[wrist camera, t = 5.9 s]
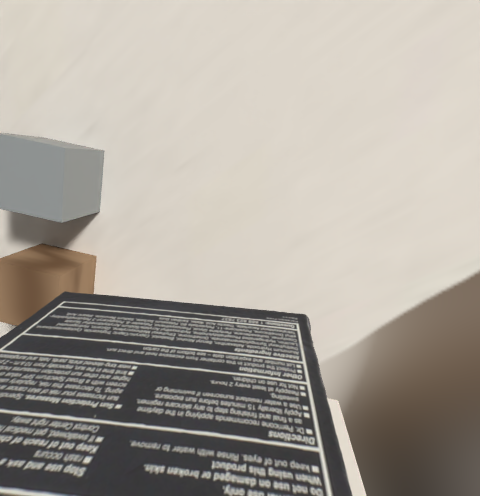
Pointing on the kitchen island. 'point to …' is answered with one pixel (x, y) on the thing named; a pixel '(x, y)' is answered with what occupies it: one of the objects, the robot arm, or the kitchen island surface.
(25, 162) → the slate-grey block
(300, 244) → the kitchen island surface
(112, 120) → the kitchen island surface
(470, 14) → the kitchen island surface
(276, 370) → the small box
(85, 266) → the walnut block
